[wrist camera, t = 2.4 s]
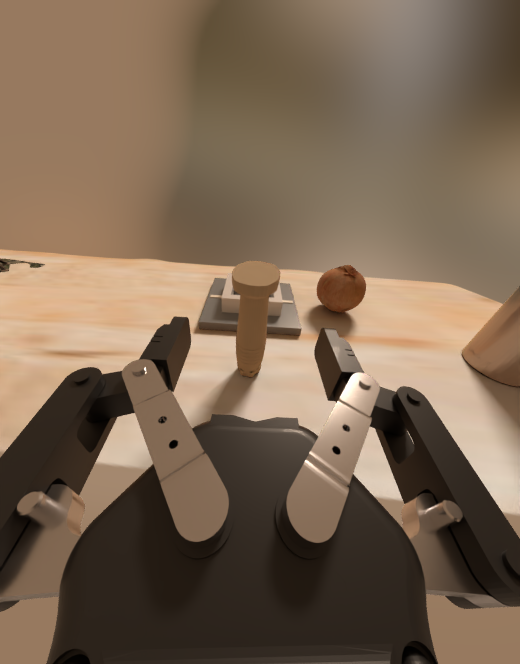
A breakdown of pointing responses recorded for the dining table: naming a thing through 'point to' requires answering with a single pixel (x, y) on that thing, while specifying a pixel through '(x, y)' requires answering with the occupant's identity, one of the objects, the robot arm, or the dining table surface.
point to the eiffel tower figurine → (4, 264)
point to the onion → (341, 288)
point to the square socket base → (225, 309)
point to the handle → (253, 311)
